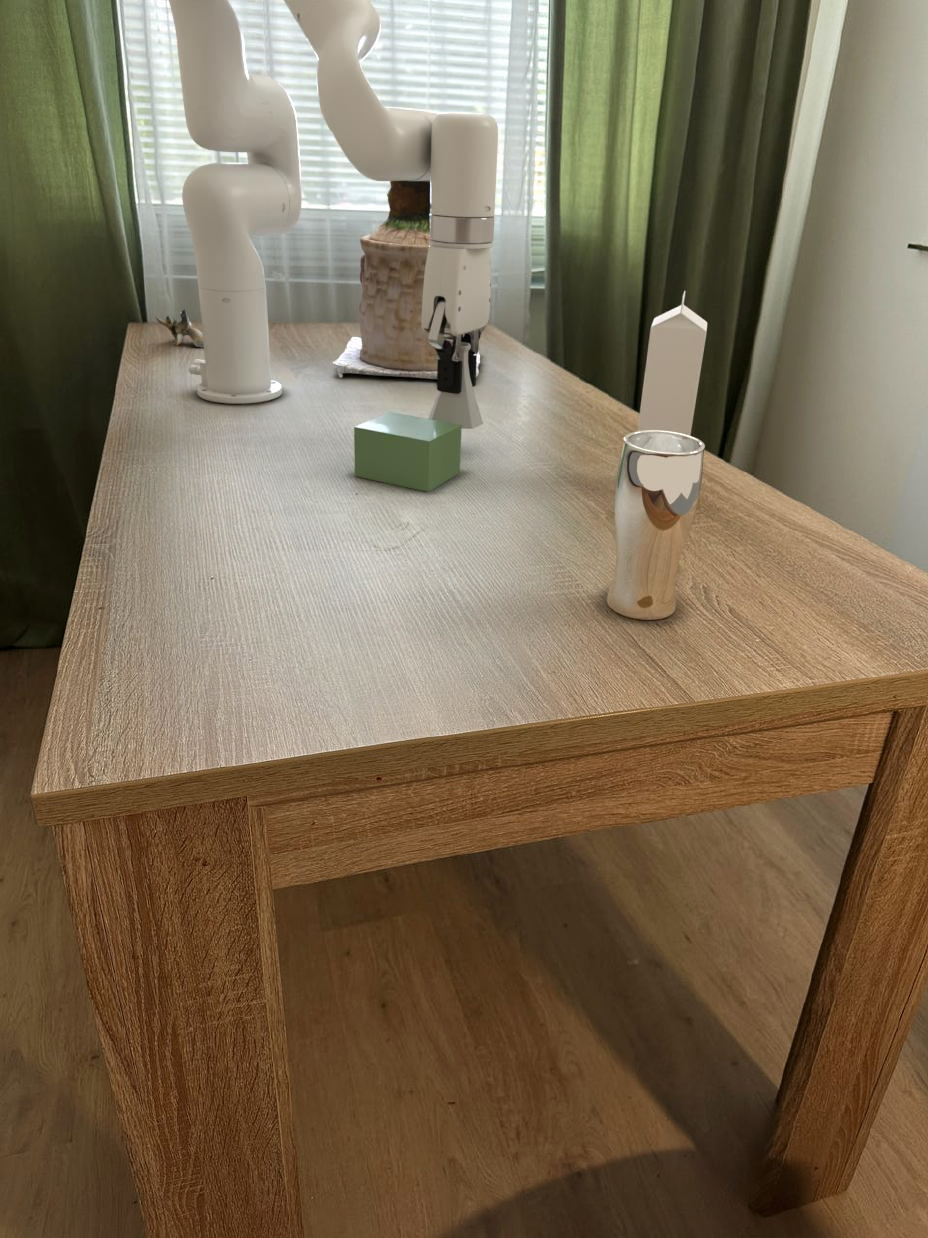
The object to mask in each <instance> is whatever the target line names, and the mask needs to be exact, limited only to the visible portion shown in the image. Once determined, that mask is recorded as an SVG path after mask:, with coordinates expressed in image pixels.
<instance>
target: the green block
mask: <svg viewBox="0 0 928 1238" xmlns="http://www.w3.org/2000/svg"><path fill="white" fill-rule="evenodd" d="M462 430H463V429H462V425H459V424H454V423H448V422H443V421H437V420H432V419H428V418H426V417H421V416H415V415H409V414H403V413H398V412H392V411H388V412H386V413H383V414H381V415H378V416H377V417H374V418H372V419H369V420H367V421H364V422H362V423H360V424H358V425H355V426H354V427H353V432H354V433H353V438H354V439H353V440H354V441H353V446H354V451H353V452H354V477H357V478H361V479H362V478H363V479H365V480H371V481H376V482H381V483H384V484H389V485H394V486H399V487H404V488H408V489H413V490H417V491H422V492H426V493H429V492H431V491H432V490H434V489H435V488H438V487H439V486H440V485H442V484H444V483H445V482H447V481H449V480H451V479H453V478H454V477H456V476H457V475H459V474H460V473H461V455H462V454H461V453H462Z"/></svg>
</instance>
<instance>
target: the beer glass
mask: <svg viewBox="0 0 928 1238" xmlns="http://www.w3.org/2000/svg"><path fill="white" fill-rule="evenodd" d="M705 448H706V444H705V443H704V442H703V440H700V439H699V438H697V437H696V436H692V435H686V434H682V433H678V432H672V431H663V430H643V431H638V430H636V431H632V432H629V433H627V434H625V435H624V437H623V444H622V449H621V453H620V457H619V463H618V467H617V473H616V480H615V487H614V498H613V519H614V535H615V566H614V567H615V568H614V573H613V577H612V579H611V583H610V586H609V588H608V591H607V595H606V604H607V606H608V607H609V608H610V609H611V610H612V611H613V612H615V613H617V614H618V615H620V616H622V617H626V618H630V619H634V620H635V619H636V620H640V621H657V620H662V619H663V620H664V619H665V618H668V617H670V616H671V615H673V614H674V612H675V611H676V608H677V595H676V594H677V593H676V580H677V573H678V567H679V564H680V560H681V557H682V555H683V552H684V549H685V546H686V543H687V540H688V538H689V536H690V532H691V529H692V526H693V523H694V520H695V516H696V514H697V513H696V512H697V510H698V505H699V500H700V496H701V489H702V481H703V480H702V479H703V469H704V456H705V455H704V454H705Z"/></svg>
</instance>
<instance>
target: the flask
mask: <svg viewBox="0 0 928 1238" xmlns="http://www.w3.org/2000/svg"><path fill="white" fill-rule="evenodd" d="M450 343H451V345H453V342H450ZM470 348H471V345H470V343H465V342H461V347H460V358H459V361H462V388H461V393H459V394H454V393H448V392H442V391H438V390H437V394H436V397H435V400H434V402H433V404H432V407H431V410H430V413H429V415H428V417H427V419H432V420H437V421H443V422H448V423H454V424H459V425H462V430H473V429H475V428H477V427H479V426H481V425H483V424H484V422H483V421H484V420H483V418H482V414H481V411H480V408H479V405H478V401H477V398H476V394H475V390H474V387H472V383H471V379H470V374H469V366H468V351H469V350H470Z"/></svg>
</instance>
